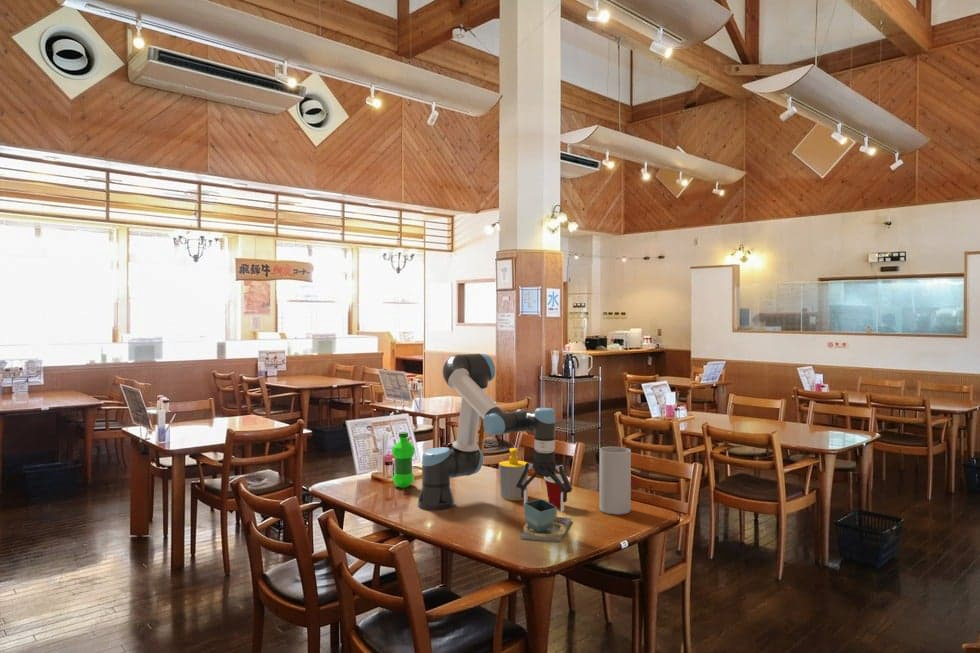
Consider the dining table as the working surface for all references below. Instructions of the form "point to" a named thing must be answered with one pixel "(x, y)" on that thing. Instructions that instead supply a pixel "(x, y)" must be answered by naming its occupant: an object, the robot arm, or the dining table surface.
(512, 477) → the soap bottle
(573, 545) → the dining table surface
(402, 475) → the plastic bottle
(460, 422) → the robot arm
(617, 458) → the cylinder vase
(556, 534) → the board
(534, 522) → the flower pot
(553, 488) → the plastic cup
